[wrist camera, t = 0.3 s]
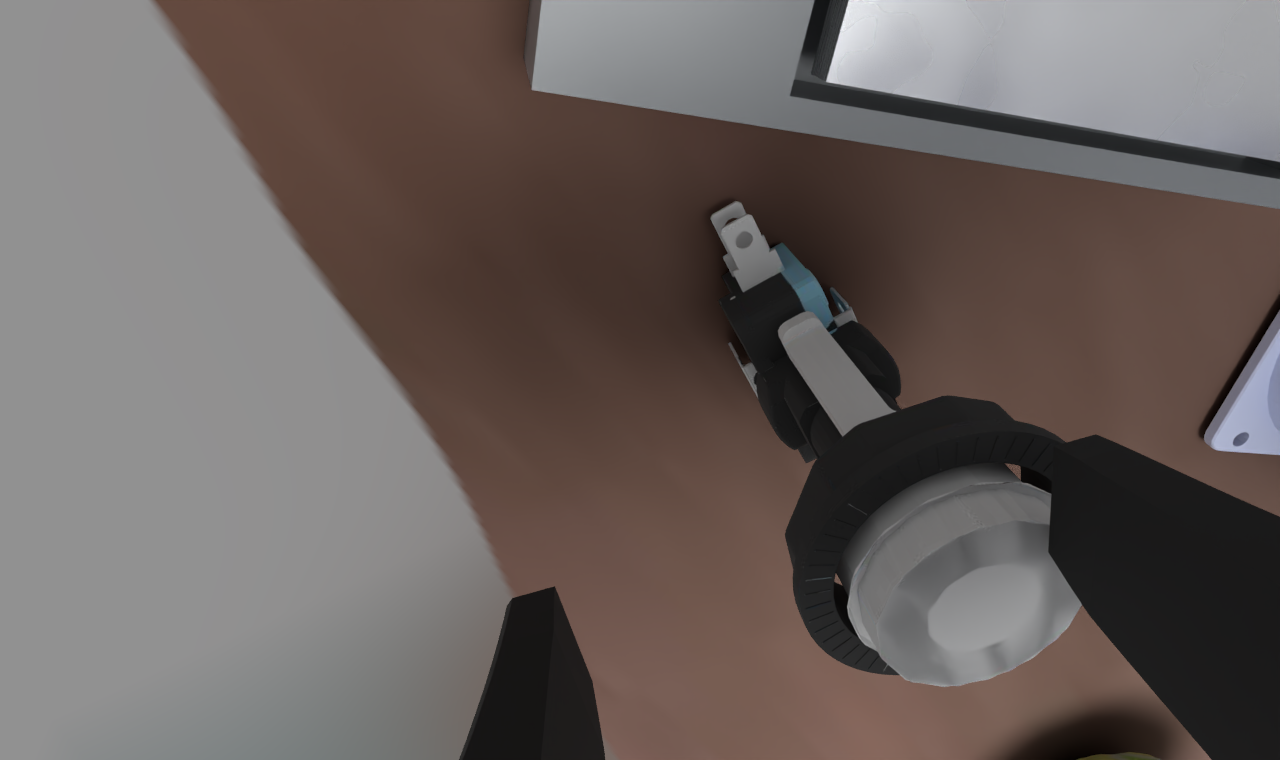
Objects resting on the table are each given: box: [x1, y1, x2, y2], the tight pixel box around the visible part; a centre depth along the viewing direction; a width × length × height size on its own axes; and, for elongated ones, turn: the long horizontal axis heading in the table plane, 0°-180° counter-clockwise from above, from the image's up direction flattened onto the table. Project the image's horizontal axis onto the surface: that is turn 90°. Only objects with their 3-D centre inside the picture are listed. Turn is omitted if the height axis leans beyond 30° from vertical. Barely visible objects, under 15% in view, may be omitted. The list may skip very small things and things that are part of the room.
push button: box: [711, 201, 1082, 687], centre depth 17 cm, size 7×5×10 cm
